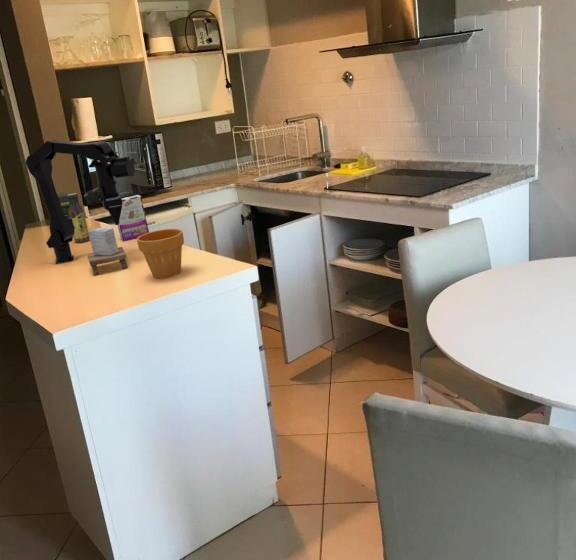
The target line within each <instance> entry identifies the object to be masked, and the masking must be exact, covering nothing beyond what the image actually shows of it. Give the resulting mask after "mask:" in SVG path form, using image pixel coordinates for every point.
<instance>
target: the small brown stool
mask: <svg viewBox="0 0 576 560" xmlns="http://www.w3.org/2000/svg"><path fill="white" fill-rule="evenodd" d="M118 251H119V252H118V253H116V254H114V255H111V256H102V255H94V253H93V252H92V253H87V254H86V255H87V259H88V263H89V266H90V267H91V269H92V272H93V276H98V275H99V271H98V266H99V265H103V264H107V263H112V262H117V261H119V263H121V266H122V269H123V270H126V269H128V265H127V264H128V263H127V259H128V256H127V253H126V251H125V250H124V248H123V246H120V247H118Z"/></svg>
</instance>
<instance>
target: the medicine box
mask: <svg viewBox="0 0 576 560" xmlns="http://www.w3.org/2000/svg"><path fill="white" fill-rule="evenodd" d="M88 233H89V241H90V243H91V244H90V245H91V248H92V253H94V255H102V256H111V255H114V254H116V253H118V252H119V251H118V248H119V247H118V244H117V239H116V234H115V231H114V228H112V227H97V228H92V229H91V230H88Z"/></svg>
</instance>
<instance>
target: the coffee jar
mask: <svg viewBox="0 0 576 560" xmlns="http://www.w3.org/2000/svg"><path fill="white" fill-rule="evenodd" d="M69 194H70V193H69ZM69 194H68V193H65V192H59V193H57V195H58V198H59V201H60V204H61V207H62V210H63V213H64V215H65V216H66V217H67V218H68V219H69V214H68V210H69V207H70V205H69V200H68V198H67V195H69Z"/></svg>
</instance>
